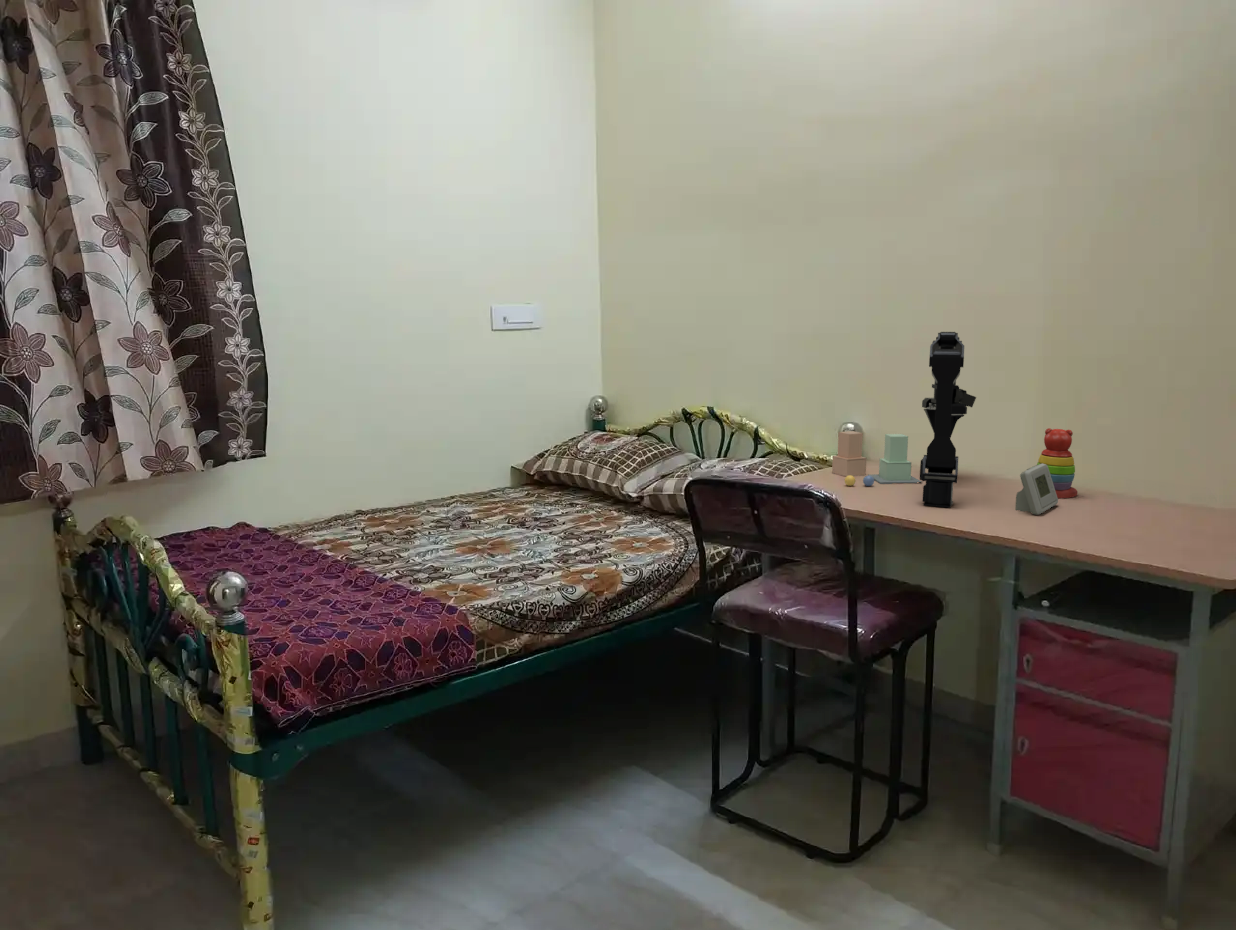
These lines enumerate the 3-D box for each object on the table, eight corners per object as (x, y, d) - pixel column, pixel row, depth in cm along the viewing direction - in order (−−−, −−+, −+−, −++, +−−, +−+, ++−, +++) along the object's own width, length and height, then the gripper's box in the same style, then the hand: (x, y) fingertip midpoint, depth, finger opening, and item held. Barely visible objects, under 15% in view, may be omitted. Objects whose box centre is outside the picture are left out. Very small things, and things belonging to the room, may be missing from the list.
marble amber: (855, 484, 259) (858, 484, 261) (852, 473, 259) (855, 474, 262) (844, 487, 260) (848, 487, 263) (841, 476, 261) (845, 477, 263)
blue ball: (877, 479, 259) (874, 484, 262) (869, 471, 261) (866, 477, 263) (870, 484, 258) (867, 490, 261) (862, 477, 259) (859, 482, 262)
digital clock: (1037, 517, 223) (1041, 473, 221) (1002, 511, 230) (1005, 468, 228) (1070, 508, 233) (1073, 466, 231) (1035, 502, 240) (1038, 461, 238)
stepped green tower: (910, 480, 267) (912, 436, 265) (886, 480, 266) (888, 437, 264) (902, 475, 274) (904, 433, 271) (878, 475, 273) (880, 433, 271)
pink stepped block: (865, 474, 278) (867, 433, 276) (846, 476, 275) (848, 434, 273) (851, 471, 284) (852, 430, 282) (832, 472, 281) (833, 431, 279)
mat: (922, 483, 264) (922, 481, 264) (880, 483, 264) (880, 482, 264) (907, 475, 276) (907, 474, 276) (867, 476, 276) (867, 474, 276)
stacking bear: (1078, 493, 250) (1083, 427, 247) (1073, 500, 241) (1079, 432, 238) (1034, 489, 255) (1039, 425, 252) (1028, 496, 247) (1033, 429, 244)
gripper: (987, 383, 255) (983, 440, 257) (960, 378, 273) (957, 431, 276) (947, 384, 254) (943, 440, 257) (922, 378, 273) (919, 431, 275)
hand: (942, 435), depth 266 cm, fingers open, 9 cm apart
